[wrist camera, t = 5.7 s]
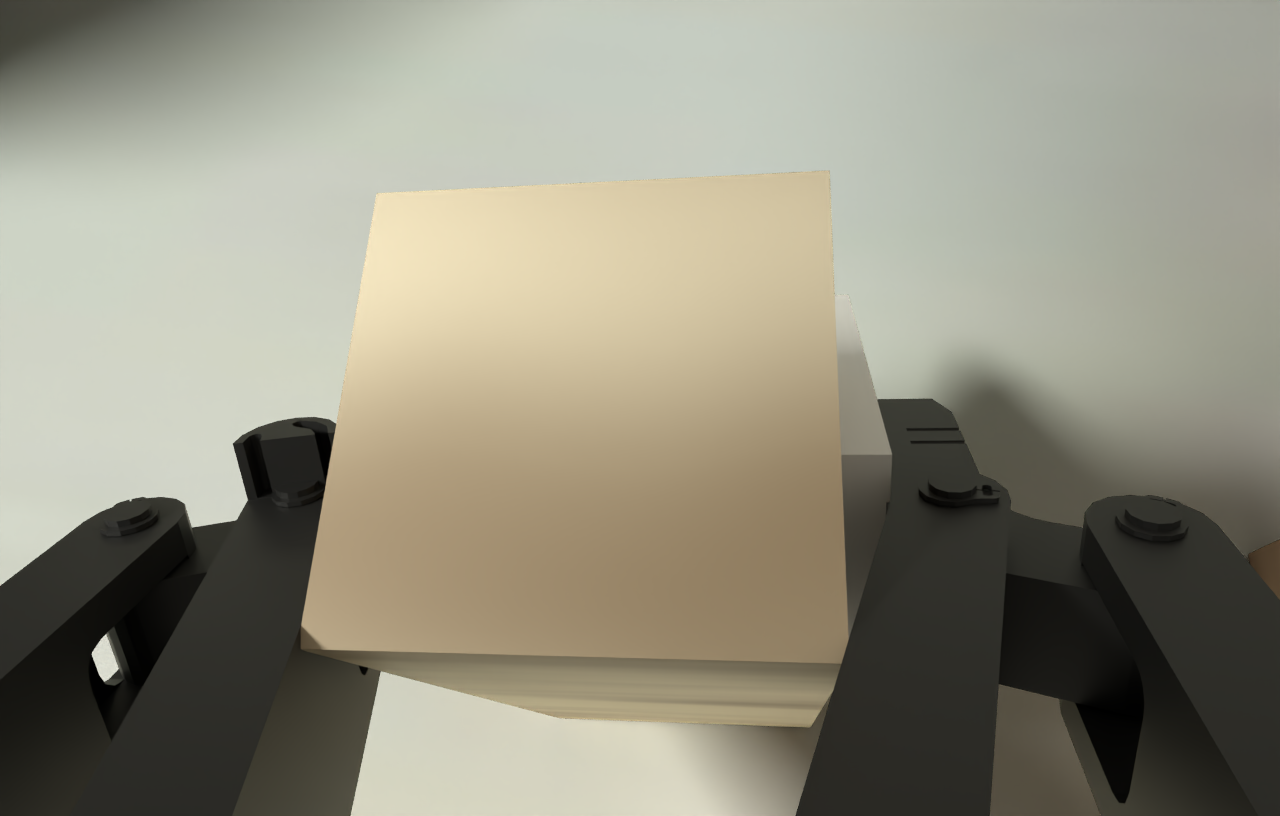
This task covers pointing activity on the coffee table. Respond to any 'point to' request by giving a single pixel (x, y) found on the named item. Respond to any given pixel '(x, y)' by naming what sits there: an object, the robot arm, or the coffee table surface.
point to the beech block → (594, 451)
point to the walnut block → (1268, 565)
